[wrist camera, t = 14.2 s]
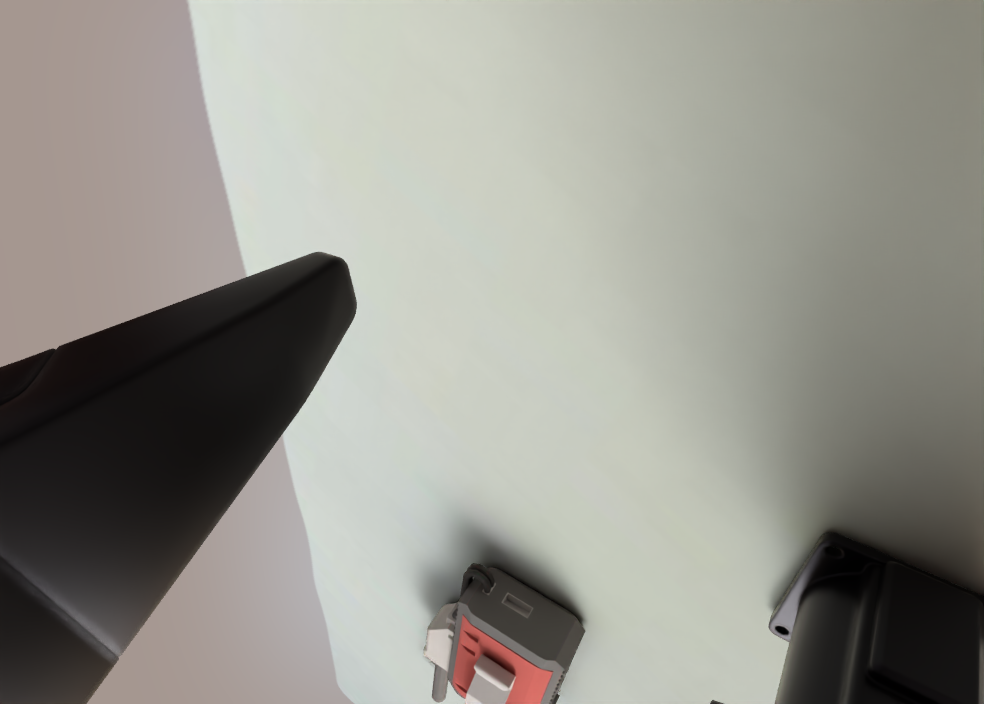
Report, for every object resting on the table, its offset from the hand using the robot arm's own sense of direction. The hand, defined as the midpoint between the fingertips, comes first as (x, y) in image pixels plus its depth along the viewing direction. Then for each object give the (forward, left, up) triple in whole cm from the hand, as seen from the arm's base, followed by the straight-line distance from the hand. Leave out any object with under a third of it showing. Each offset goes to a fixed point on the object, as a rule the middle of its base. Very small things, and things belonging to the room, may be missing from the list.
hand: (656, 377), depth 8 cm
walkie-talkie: (-36, +7, -12) cm, 38 cm away
